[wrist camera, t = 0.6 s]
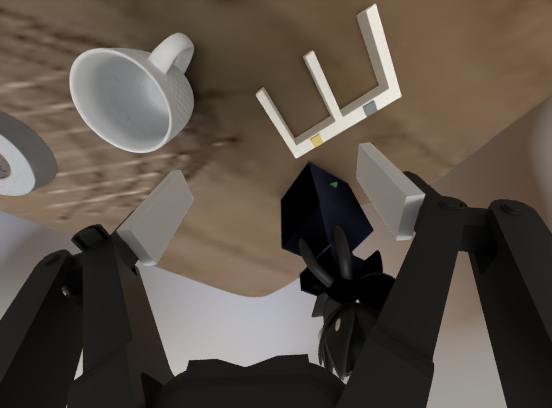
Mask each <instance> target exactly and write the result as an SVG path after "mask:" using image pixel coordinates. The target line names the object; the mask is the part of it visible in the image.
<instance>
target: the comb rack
mask: <svg viewBox="0 0 552 408" xmlns="http://www.w3.org/2000/svg"><path fill="white" fill-rule="evenodd" d="M356 18H357V21H358V24H359V27H360V30H361V33H362V36H363V39H364V42H365V45H366V48H367V51H368V54H369V57H370V61H371V64H372V67H373V70H374V73H375V76H376V79H377V82H378V85H379V86H377V87H375V88H374V89H372V90H371V91H369V92H367V93H366V94H364V95H363V96H361V97H359V98H358V99H356V100H355V101H353V102H352V103H350V104H348V105H347V106H345V107H344V108H342V109H340V110H339V107H338V105H337V103H336V101H335V98H334V96H333V94H332V92H331V89H330V87H329V85H328V83H327V81H326V78H325V76H324V74H323V72H322V69H321V67H320V65H319V63H318V60H317V58H316V56H315V54H314V51H310V52H308V53H307V54H306V55H304V56H303V59H304V61H305V63H306V65H307V67H308V69H309V71H310V73H311V76H312V78H313V80H314V82H315V84H316V86H317V88H318V90H319V92H320V95H321V97H322V99H323V101H324V103H325V105H326V107H327V109H328V111H329V113H330V116H329V117H328V118H326V119H325V120H323V121H321V122H320V123H318V124H317V125H315V126H313V127H312V128H310V129H309V130H307V131H305V132H304V133H302V134H301V135H299V136H297V137H296V138H294V136H293V134H292V133H291V131H290V130H289V128H288V126H287V125H286V123H285V121H284V120H283V118H282V116H281V115H280V113H279V111H278V110H277V108H276V106H275V105H274V103H273V101H272V100H271V98H270V96H269V95H268V93H267V91H266V90H265V88H264V87H262V88H261V89H260V90H259V91H257V93H256V97H257V98H258V100H259V101H260V103H261V104H262V106H263V108H264V109H265V111H266V112H267V114H268V115H269V117H270V119H271V120H272V122H273V123H274V125H275V126H276V128H277V130H278V131H279V133H280V134H281V136H282V137H283V139H284V141H285V142H286V144H287V145H288V147H289V148H290V150H291V152H292V153H293V155H294V156H295V158H298V157H300V156H302V155H303V154H305V153H307V152H308V151H310V150H312V149H313V148H316V147H317V146H319V145H321V144H322V143H323V142H325V141H327V140H329V139H330V138H332V137H334V136H335V135H337V134H339V133H340V132H342V131H344V130H345V129H347V128H349V127H351V126H352V125H354V124H356V123H357V122H359V121H361V120H362V119H364V118H366V117H368V116H370V115H371V114H373V113H375V112H376V111H378V110H379V109H381V108H383V107H384V106H386V105H388V104H389V103H391V102H393V101H395V100H396V99H398V98H400V97H401V93H400V89H399V86H398V82H397V78H396V75H395V71H394V68H393V64H392V61H391V57H390V53H389V50H388V46H387V43H386V39H385V35H384V32H383V28H382V25H381V21H380V17H379V14H378V10H377V7H376V4H374V5H372V6H370V7H368V8H366V9H365V10H363V11H362V12H361V13H359V14H358V15H357V16H356Z"/></svg>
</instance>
